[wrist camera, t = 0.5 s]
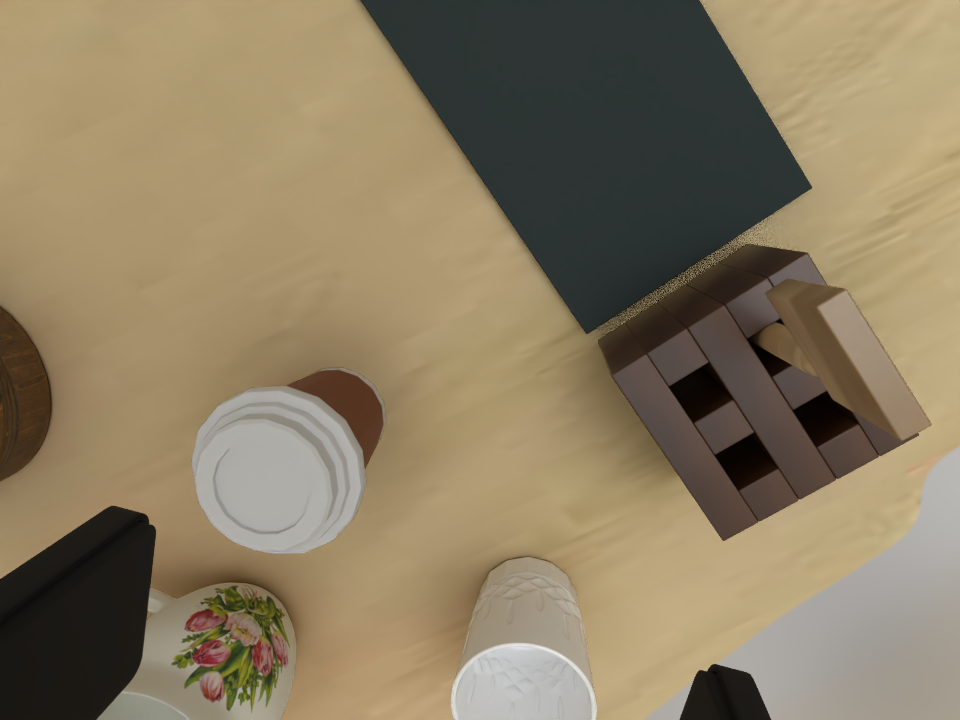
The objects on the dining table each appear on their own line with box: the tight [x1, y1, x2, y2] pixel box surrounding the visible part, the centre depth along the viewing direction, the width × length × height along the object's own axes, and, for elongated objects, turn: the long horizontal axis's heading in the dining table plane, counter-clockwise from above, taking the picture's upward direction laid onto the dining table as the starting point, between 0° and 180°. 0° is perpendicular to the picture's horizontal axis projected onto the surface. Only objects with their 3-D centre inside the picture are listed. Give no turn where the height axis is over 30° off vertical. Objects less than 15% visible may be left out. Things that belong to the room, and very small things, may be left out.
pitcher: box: [97, 582, 297, 720], centre depth 41 cm, size 11×18×14 cm, turn 54°
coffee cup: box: [191, 368, 386, 554], centre depth 37 cm, size 9×9×12 cm
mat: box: [361, 0, 812, 334], centre depth 37 cm, size 15×24×1 cm, turn 35°
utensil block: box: [598, 244, 919, 541], centre depth 35 cm, size 10×10×9 cm
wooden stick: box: [746, 279, 931, 441], centre depth 29 cm, size 1×5×20 cm, turn 35°
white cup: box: [451, 557, 597, 720], centre depth 40 cm, size 8×8×10 cm
